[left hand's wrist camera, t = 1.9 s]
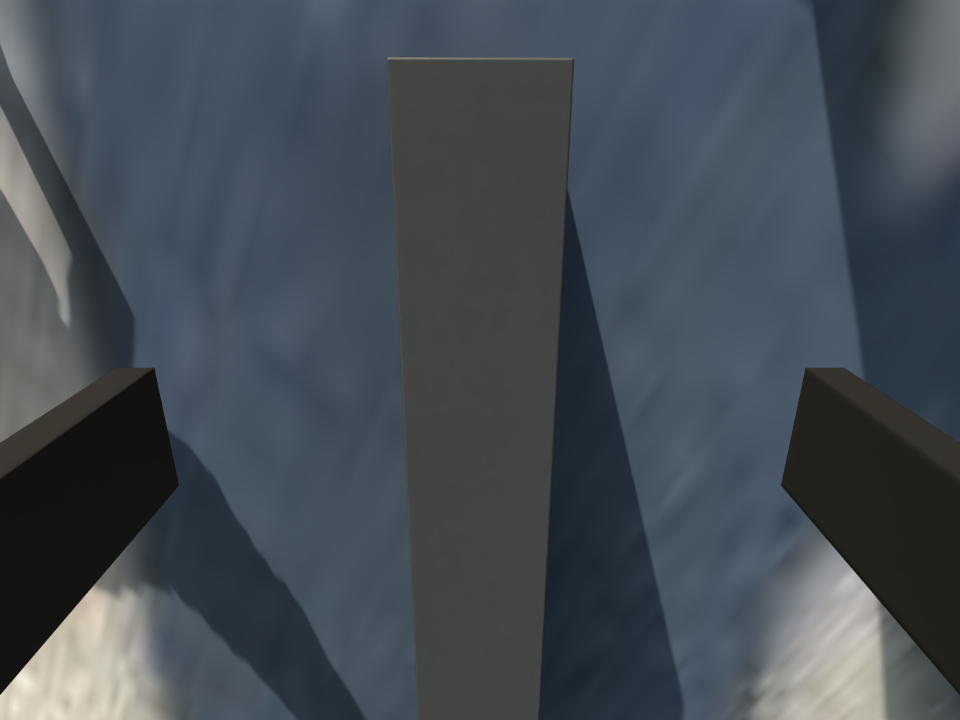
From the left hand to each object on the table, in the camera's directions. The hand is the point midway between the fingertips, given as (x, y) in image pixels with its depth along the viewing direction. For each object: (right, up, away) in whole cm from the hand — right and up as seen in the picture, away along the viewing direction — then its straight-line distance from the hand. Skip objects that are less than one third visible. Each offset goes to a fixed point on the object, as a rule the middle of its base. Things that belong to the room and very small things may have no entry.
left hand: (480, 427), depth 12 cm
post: (0, -17, +20) cm, 26 cm away
